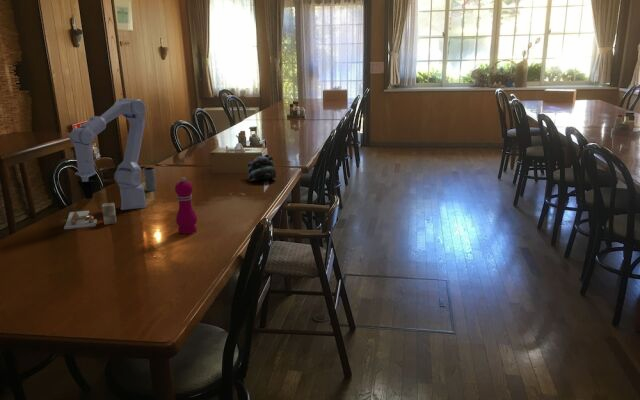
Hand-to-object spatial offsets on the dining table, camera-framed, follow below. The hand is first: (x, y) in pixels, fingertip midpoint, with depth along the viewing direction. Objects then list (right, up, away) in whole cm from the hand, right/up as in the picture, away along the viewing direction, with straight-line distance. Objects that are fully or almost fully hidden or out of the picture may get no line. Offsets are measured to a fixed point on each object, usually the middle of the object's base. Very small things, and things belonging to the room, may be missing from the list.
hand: (90, 195), depth 193 cm
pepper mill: (+40, -13, -11) cm, 43 cm away
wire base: (-3, -10, -1) cm, 11 cm away
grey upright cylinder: (+9, +3, +42) cm, 43 cm away
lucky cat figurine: (+58, +8, +58) cm, 83 cm away
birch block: (+8, -10, 0) cm, 13 cm away
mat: (-8, -8, +8) cm, 14 cm away
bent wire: (-2, -9, 0) cm, 10 cm away
